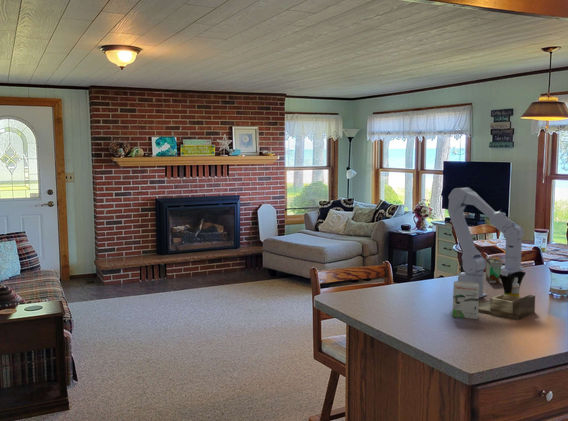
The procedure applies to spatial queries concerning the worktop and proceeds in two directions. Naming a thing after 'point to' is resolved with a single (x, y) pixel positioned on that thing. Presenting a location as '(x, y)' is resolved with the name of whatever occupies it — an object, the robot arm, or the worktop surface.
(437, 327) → the worktop surface
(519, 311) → the base
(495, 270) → the food container
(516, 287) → the supplement bottle
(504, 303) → the beige square tray
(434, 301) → the worktop surface
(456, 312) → the ink box
